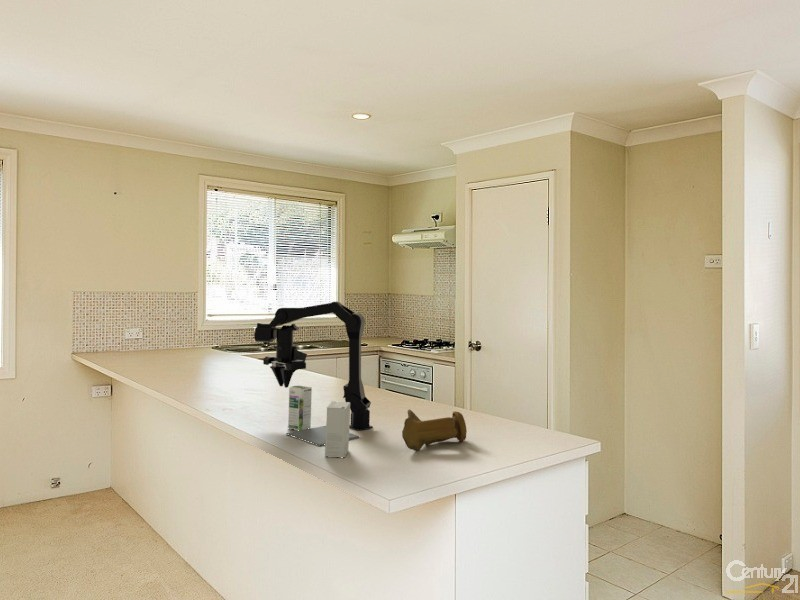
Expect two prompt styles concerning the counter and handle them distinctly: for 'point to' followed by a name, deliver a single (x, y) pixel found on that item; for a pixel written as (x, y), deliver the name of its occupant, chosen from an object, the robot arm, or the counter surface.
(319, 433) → the mat
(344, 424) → the skincare box
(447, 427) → the brown flanged cylinder
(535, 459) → the counter surface
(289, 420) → the syrup box
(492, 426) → the counter surface
